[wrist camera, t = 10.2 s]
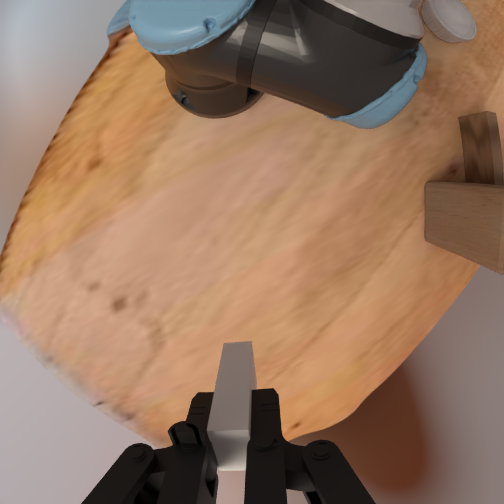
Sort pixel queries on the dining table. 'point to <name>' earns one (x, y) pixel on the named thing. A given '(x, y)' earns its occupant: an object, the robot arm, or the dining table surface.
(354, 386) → the dining table surface
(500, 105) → the dining table surface
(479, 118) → the board
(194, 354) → the dining table surface
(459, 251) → the block
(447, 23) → the ramekin
